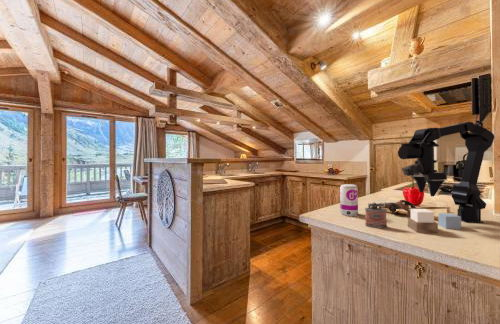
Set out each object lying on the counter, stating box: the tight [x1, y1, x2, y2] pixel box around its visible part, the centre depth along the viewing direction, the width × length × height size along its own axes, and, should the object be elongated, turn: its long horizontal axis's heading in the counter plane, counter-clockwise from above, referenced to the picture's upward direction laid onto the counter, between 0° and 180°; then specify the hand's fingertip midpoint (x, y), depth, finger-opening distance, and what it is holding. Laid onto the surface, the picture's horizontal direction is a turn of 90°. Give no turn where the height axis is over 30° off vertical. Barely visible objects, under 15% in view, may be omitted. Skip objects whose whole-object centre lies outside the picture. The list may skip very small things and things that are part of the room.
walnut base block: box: [407, 217, 439, 234], centre depth 87 cm, size 7×7×4 cm
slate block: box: [437, 212, 462, 230], centre depth 89 cm, size 5×5×5 cm
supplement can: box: [339, 183, 359, 217], centre depth 112 cm, size 8×8×15 cm
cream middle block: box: [409, 208, 435, 223], centre depth 87 cm, size 6×6×4 cm
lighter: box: [364, 201, 388, 229], centre depth 93 cm, size 8×3×10 cm, turn 70°
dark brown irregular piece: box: [387, 199, 417, 218], centre depth 108 cm, size 12×10×8 cm
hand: (426, 194), depth 95 cm, fingers open, 9 cm apart
